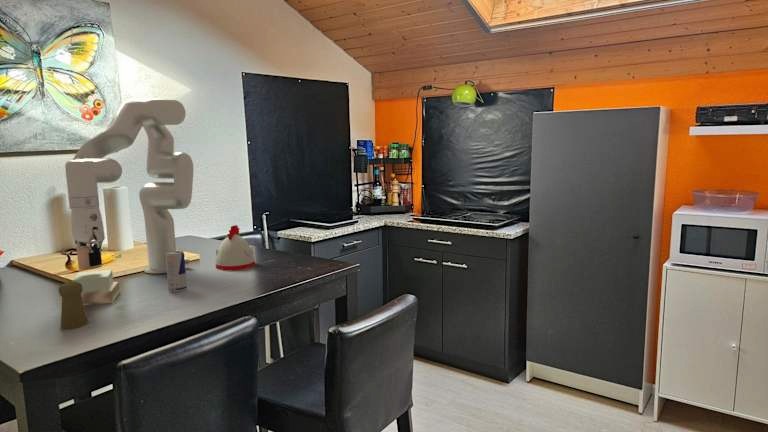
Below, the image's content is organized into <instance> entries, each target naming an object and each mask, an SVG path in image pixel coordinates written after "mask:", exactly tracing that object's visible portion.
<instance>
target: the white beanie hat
mask: <svg viewBox="0 0 768 432" xmlns="http://www.w3.org/2000/svg"><path fill="white" fill-rule="evenodd" d="M228 232H229V233H227V237H225V238H224V239H223V240H222V242H221V243H220V245H219V247H218V248H217V249H216V251H215V255H216V257H215V269H217V270H219V271H227V270H231V271H240V270H241V269H242V270H245V269H246V268H247V269H250V267H251V268H252V266H253V267H254V266H256V265H255V264H256V263H255V261H256V260H255V256H254V248H253V246H250V244H249V243H248V241H247V240H246V239H245V238H243V237H242V236H241V235H239V234H240V227H238V225H237V224H235V225H231V226H230V229H229V230H228ZM247 269H246V270H247Z"/></svg>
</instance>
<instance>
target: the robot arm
mask: <svg viewBox="0 0 768 432" xmlns="http://www.w3.org/2000/svg"><path fill="white" fill-rule="evenodd" d="M186 115H187V114H186V109H185V106H184V104H182V102H181V101H179V100H177V99H165V98H164V99H163V98H153V97H150V98H129V99H127V100H124V101H123V102H122V104H120V106H119V108H118V110H117V111H116V113H115V115H114V117H113V118H112V119H111V121H110V122H109V124H108V126H107V128H106V129H105V130H103V131H101V132H100V133H98V134H96V135H95V136H94V137H92V138H90V139H89V140H88V141H86V142H84V143H83V144H82V145H81V147H80V148H79V149H78V151H77V152H76V154H75V155H74V157H72V159H71V160H68V161H66V163H65V164H64V167H65V179H66V187H67V188H66V189H67V196H68V206H69V209H70V211H71V212H70V213H71V216H70V217H71V221H70V222H71V231H72V233H71V234H72V238H73V239H74V241H75V242H74V243H75V244H76V246H75V247H76V248H75V249H76V250H77V248H78V247H82V246H88V247H89V251H90V253H88V254H89V264H90V266H97V265H101V264H102V263H103V262H102V261H103V260H102V245H103V243H104V240H105V239H106V238H105V236H106V235H105V227H104V223H103V218H102V217H103V216H102V213H101V210H100V199H99V190H98V189H99V188H98V184H111V183H115V182H117V181H118V180H119V179H120V178H121V176H122V173H123V169H122V165H121V164H120V163H119V162H118V160H116V159H113V158H108V157H107V156H109V155H112V154H114V153H117V152H121V151H122V150H125V149H128V148H129V147H131V146H132V145H133V144H134V142H135V140H136V139H137V136H138V135H139V133H140V131H141V130H142V128H143V129H144V131H145V133H146V136H147V156H146V173H147V175H148V176H149V177H151V178H152V179H155V180H156V179H159V180H168V179H169V180H171V179H172V180H173V181H172V182H167V181H166V182H165V181H161V182H160V181H153V182H148V183H146V184H144V185H143V186H141V188H140V190H139V195H138V196H139V202H140V205H141V208H142V211H143V216H144V217H143V218H144V224H145V225H144V226H145V228H144V229H145V238H146V241H145V242H146V251H147V262H148V263H147V264H148V266H149V267H147V266H145V267H146V268H145V267H144V269H143V270H144V273H146V274H167V267H166V253H167V252H170V251H177V245H176V244H177V243H176V235H175V234H176V232H175V221H174V218H173V216H172V213H170V210H184V209H186V208H188V207H189V206H190V204H191V203H192V196H193V182H194V162H193V159H192V157H191V155H189V154H188V153H187V152H184V151H175V149H174V148H175V146H174V145H175V139H174V137H173V134H172V133H171V132H170V130H169V129H168V128H167V126H177V125H178V126H179V125H180V124H182V123H183V122H184V120H185V118H186ZM106 157H107V158H106ZM92 245H93V247H92ZM186 264H191V259H190V257H185V265H186ZM102 265H103V264H102Z"/></svg>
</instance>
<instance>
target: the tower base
mask: <svg viewBox="0 0 768 432" xmlns="http://www.w3.org/2000/svg"><path fill="white" fill-rule="evenodd" d="M120 292H121V290H120V282H119V281H113V284H112V286H111V288H110V290H104V291H95V292H86V293H81V298H82V302H83V305H84V306H91V305H92V304H94V305H101V304H112V302H113V303H114V301H115V300H116V299H117V297H118V296H119V294H120ZM92 306H93V305H92Z"/></svg>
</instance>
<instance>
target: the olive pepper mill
mask: <svg viewBox="0 0 768 432" xmlns="http://www.w3.org/2000/svg"><path fill="white" fill-rule="evenodd" d="M82 290H83V288H82V285H81V283H79V282H73V281H67V282H64V283H62V284H60V285H59V287H58V294H59V296H60V297H61V314H60V316H61V317H60V329H63V330H70V329H71V330H72V329H78V328H82V327H84V326H87V325H88V324H89V322H88V321H89V320H88V317H87V314H86V313H87V312H86V310H85V305H83V302H82V298H81V293H82Z"/></svg>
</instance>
